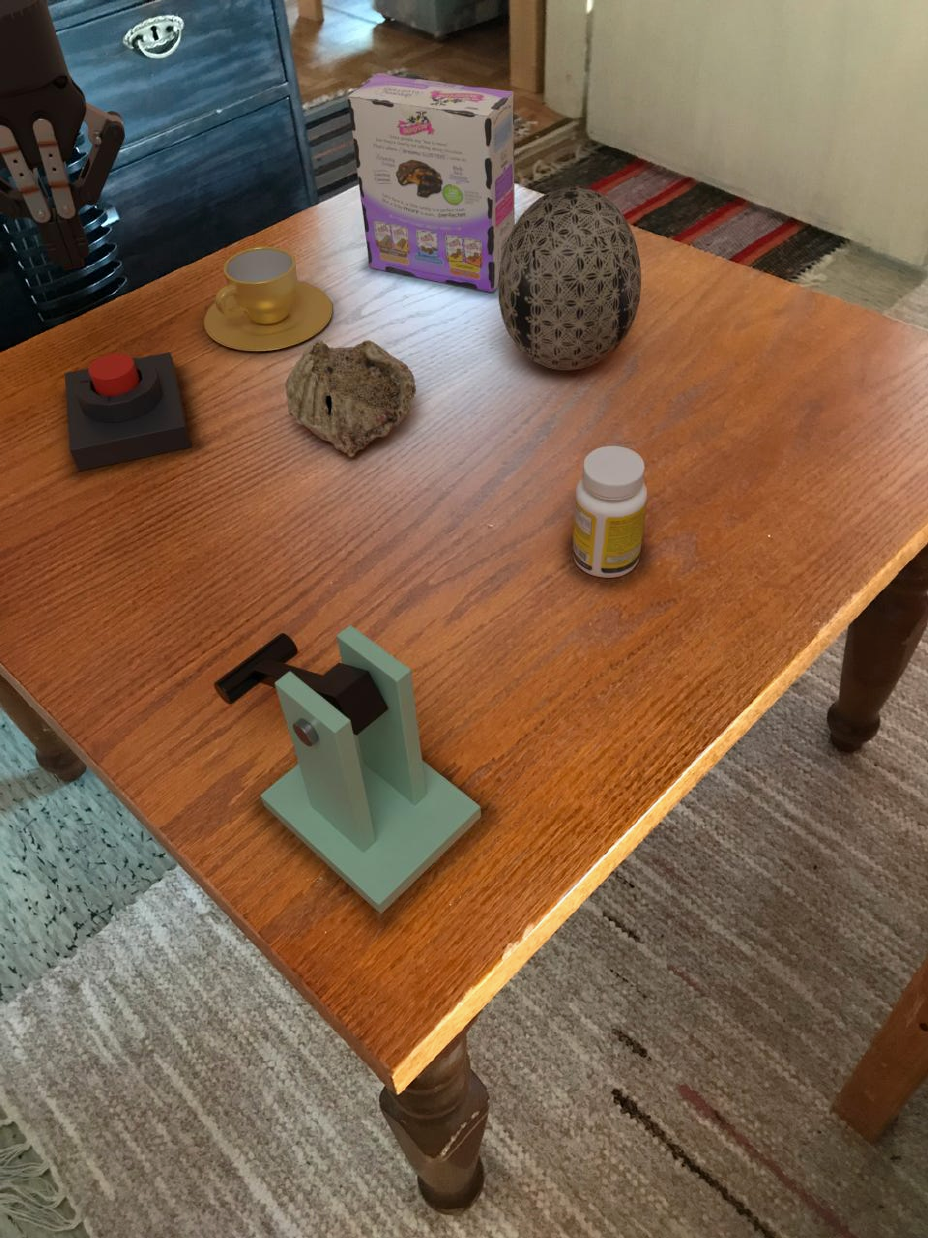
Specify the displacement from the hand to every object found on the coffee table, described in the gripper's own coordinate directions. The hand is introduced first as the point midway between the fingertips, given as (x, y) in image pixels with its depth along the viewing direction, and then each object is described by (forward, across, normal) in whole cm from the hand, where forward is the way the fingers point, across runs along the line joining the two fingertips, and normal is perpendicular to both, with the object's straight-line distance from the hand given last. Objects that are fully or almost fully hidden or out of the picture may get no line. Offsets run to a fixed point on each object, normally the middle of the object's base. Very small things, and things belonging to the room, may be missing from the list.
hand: (74, 262), depth 72 cm
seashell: (+14, +18, -7) cm, 24 cm away
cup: (+14, +14, +11) cm, 23 cm away
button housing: (+14, 0, 0) cm, 14 cm away
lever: (+7, +9, -40) cm, 41 cm away
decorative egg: (+14, +37, -5) cm, 40 cm away
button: (+11, 0, 0) cm, 11 cm away
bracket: (+14, +10, -43) cm, 46 cm away
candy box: (+14, +32, +14) cm, 38 cm away
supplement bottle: (+14, +31, -28) cm, 44 cm away
